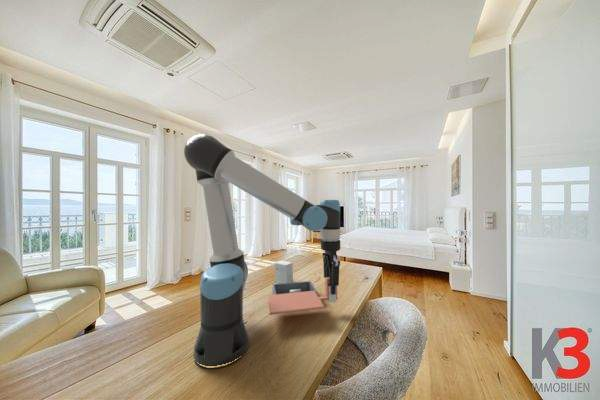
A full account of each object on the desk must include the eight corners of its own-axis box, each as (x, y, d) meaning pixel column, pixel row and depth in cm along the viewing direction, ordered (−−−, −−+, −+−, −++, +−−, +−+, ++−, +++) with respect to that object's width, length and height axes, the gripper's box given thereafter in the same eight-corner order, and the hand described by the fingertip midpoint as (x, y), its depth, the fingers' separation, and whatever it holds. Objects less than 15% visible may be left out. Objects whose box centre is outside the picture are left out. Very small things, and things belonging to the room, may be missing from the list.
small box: (293, 282, 112) (293, 262, 112) (286, 285, 107) (286, 265, 107) (281, 279, 116) (281, 260, 116) (274, 282, 111) (274, 262, 111)
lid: (269, 315, 70) (269, 291, 70) (267, 297, 83) (267, 277, 83) (342, 306, 75) (342, 284, 75) (330, 290, 88) (330, 271, 88)
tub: (274, 308, 85) (274, 295, 85) (272, 295, 96) (272, 284, 96) (317, 303, 88) (317, 291, 88) (310, 291, 100) (310, 281, 100)
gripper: (348, 242, 74) (348, 309, 74) (332, 235, 89) (333, 290, 89) (327, 244, 73) (328, 311, 73) (315, 236, 88) (316, 292, 88)
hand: (331, 299), depth 81 cm, fingers closed on lid, 2 cm apart
